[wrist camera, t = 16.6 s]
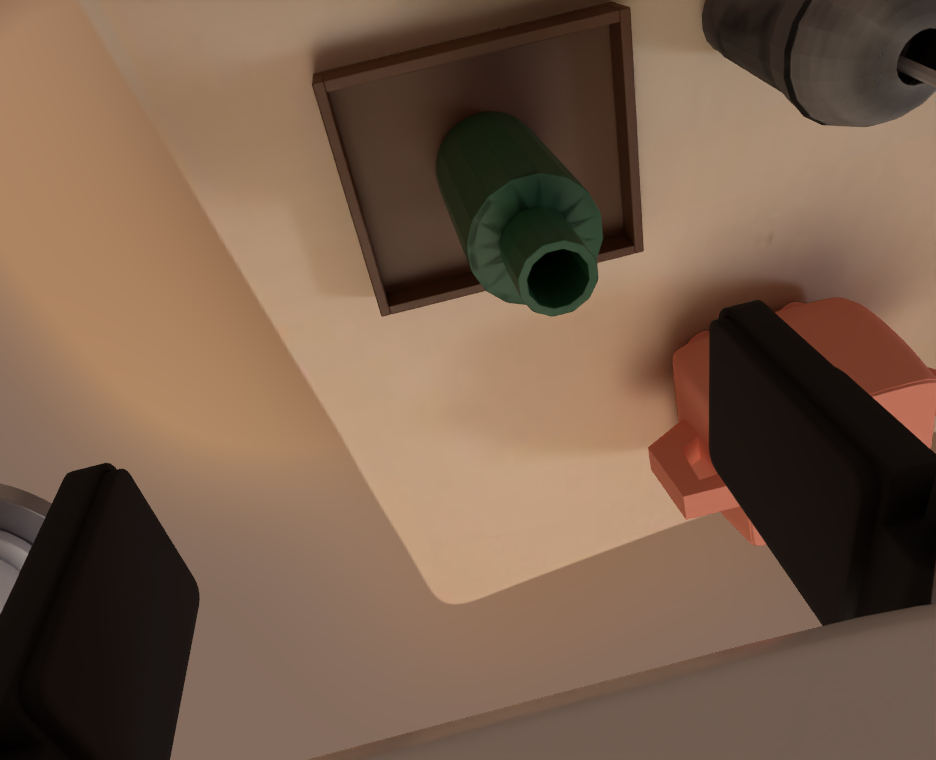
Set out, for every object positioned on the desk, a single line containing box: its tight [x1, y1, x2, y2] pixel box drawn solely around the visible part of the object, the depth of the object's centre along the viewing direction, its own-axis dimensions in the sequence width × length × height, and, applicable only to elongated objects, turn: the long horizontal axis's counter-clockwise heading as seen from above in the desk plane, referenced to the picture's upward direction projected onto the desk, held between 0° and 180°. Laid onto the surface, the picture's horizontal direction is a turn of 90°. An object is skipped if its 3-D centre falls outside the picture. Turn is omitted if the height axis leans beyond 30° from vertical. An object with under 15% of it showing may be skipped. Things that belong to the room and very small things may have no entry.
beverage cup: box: [702, 0, 936, 127], centre depth 33 cm, size 7×7×20 cm
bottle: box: [436, 111, 603, 316], centre depth 36 cm, size 6×6×16 cm
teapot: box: [648, 298, 936, 546], centre depth 50 cm, size 22×13×14 cm, turn 105°
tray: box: [312, 2, 644, 316], centre depth 43 cm, size 17×14×3 cm
